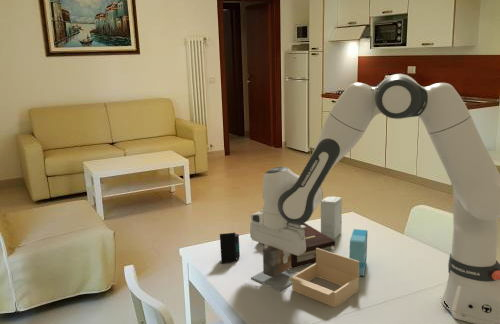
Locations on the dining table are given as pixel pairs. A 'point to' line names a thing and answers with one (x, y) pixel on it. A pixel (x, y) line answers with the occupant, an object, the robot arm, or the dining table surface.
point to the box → (274, 262)
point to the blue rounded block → (359, 248)
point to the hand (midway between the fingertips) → (277, 259)
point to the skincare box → (331, 216)
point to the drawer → (328, 278)
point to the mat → (276, 279)
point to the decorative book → (312, 246)
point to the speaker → (229, 247)
